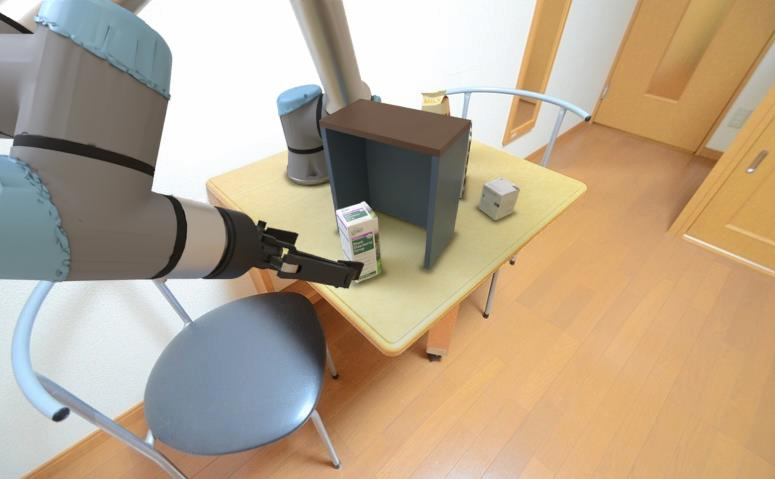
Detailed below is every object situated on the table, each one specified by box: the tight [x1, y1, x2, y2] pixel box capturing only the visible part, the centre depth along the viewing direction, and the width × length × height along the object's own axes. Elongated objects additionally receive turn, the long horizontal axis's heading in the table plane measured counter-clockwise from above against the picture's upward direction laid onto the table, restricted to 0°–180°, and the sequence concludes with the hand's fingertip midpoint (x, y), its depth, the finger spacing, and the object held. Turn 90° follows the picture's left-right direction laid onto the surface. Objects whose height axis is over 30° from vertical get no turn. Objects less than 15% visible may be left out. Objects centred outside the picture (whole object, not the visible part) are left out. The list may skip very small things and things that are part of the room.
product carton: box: [478, 176, 522, 221], centre depth 75 cm, size 6×6×7 cm
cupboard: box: [319, 99, 472, 271], centre depth 64 cm, size 23×13×26 cm, turn 58°
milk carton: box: [420, 89, 452, 116], centre depth 93 cm, size 9×9×20 cm
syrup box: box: [336, 201, 382, 284], centre depth 60 cm, size 6×6×14 cm
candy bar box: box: [459, 119, 473, 199], centre depth 81 cm, size 11×5×16 cm, turn 168°
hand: (325, 254), depth 51 cm, fingers open, 13 cm apart
